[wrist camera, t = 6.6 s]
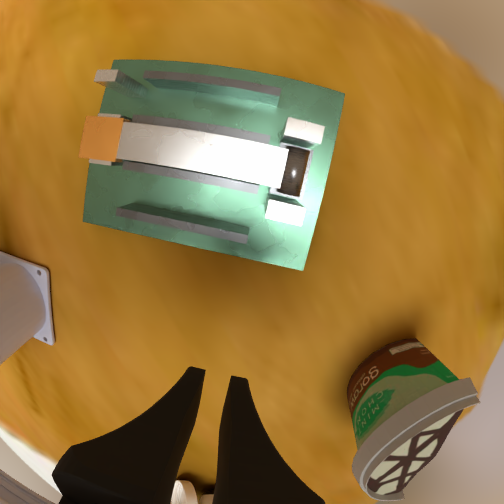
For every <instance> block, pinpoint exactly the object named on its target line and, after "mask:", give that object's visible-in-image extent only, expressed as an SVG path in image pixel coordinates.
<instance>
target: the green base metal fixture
mask: <svg viewBox="0 0 504 504" xmlns="http://www.w3.org/2000/svg"><path fill="white" fill-rule="evenodd" d="M94 82H96V83H99V84H101V85H103V86H105V87H106V89H105V93H104V96H103V100H102V104H101V108H100V113H98V116H100V117H115V118H125V119H128V120H130V123H140V124H149V125H158V126H166V127H173V128H180V129H187V130H194V131H200V132H206V133H212V134H218V135H223V136H229V137H234V138H239V139H244V140H249V141H254V142H258V143H263V144H268V145H272V146H276V147H281V148H285V149H286V147H287V146H295V147H299V148H303V149H306V150H309V151H310V154H309V159H308V163H307V167H306V172H305V176H304V180H303V184H302V189H301V193H300V197H295V196H291V195H287V194H283V193H279V192H276V191H277V188H275V187H271V186H266V185H262V184H257V183H253V182H248V181H243V180H239V179H234V178H229V177H224V176H219V175H214V174H209V173H203V172H198V171H193V170H187V169H181V168H176V167H170V166H164V165H158V164H151V163H145V162H138V161H131V160H124V159H122V162H111V161H104V160H96V159H89V163H90V165H89V171H88V178H87V186H86V194H85V203H84V214H83V222H87V223H91V224H96V225H100V226H104V227H109V228H113V229H118V230H122V231H126V232H131V233H135V234H139V235H144V236H148V237H153V238H157V239H162V240H166V241H170V242H175V243H179V244H184V245H188V246H193V247H197V248H202V249H206V250H211V251H215V252H220V253H224V254H229V255H233V256H238V257H242V258H247V259H251V260H256V261H260V262H265V263H270V264H274V265H279V266H283V267H288V268H293V269H297V270H302V271H303V269H304V265H305V262H306V258H307V254H308V251H309V247H310V243H311V240H312V236H313V232H314V228H315V224H316V220H317V217H318V213H319V209H320V205H321V201H322V197H323V192H324V188H325V184H326V180H327V176H328V171H329V167H330V163H331V158H332V154H333V149H334V145H335V140H336V136H337V131H338V126H339V121H340V117H341V112H342V107H343V102H344V96H345V94H344V93H341V92H338V91H335V90H331V89H328V88H324V87H321V86H317V85H314V84H310V83H306V82H302V81H298V80H294V79H290V78H285V77H281V76H276V75H271V74H266V73H261V72H256V71H250V70H244V69H238V68H232V67H225V66H217V65H209V64H200V63H190V62H178V61H161V60H114V61H113V65H112V68H111V70H97V73H96V76H95V80H94Z"/></svg>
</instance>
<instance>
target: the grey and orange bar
mask: <svg viewBox="0 0 504 504" xmlns="http://www.w3.org/2000/svg"><path fill="white" fill-rule="evenodd" d="M309 154H310V151H309V150H306V149H303V148H299V147H295V146H287V147H286V149H285V148H281V147H276V146H272V145H268V144H263V143H258V142H254V141H249V140H244V139H239V138H234V137H229V136H223V135H218V134H212V133H206V132H200V131H194V130H187V129H180V128H173V127H166V126H158V125H149V124H140V123H130V120H128V119H125V118H115V117H100V116H86V120H85V125H84V130H83V135H82V140H81V146H80V151H79V157H80V158H88V159H96V160H104V161H111V162H122V159H124V160H131V161H138V162H145V163H151V164H158V165H164V166H170V167H176V168H181V169H187V170H193V171H198V172H203V173H209V174H214V175H219V176H224V177H229V178H234V179H239V180H243V181H248V182H253V183H257V184H262V185H266V186H271V187H275V188H277V191H276V192H279V193H283V194H287V195H291V196H295V197H300V193H301V189H302V184H303V180H304V176H305V172H306V167H307V163H308V159H309Z"/></svg>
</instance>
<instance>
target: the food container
mask: <svg viewBox="0 0 504 504" xmlns="http://www.w3.org/2000/svg"><path fill="white" fill-rule="evenodd" d="M477 394H478V393H477V391H476V389H475V387H474V385H473V383H472V381H471V379H470V378H465V379H460V380H459V379H458V378H457V377H456V376H455V375H454V374H453V373H452V372H451V371H450V370H449V369H448V368H447V367H446V366H445V365H444V364H443V363H442V362H440V361H439V360H438V359H437V358H436V357H435V356H434V355H433V354H432V353H431V352H430V351H429V350H428V349H427V348H426V347H425V346H424V345H422V344H421V343H420V342H419V341H418V340H417V339H404V340H401V341H397V342H394V343H391V344H388V345H386V346H385V347H383V348H381V349H379V350H378V351H376V352H374V353H373V354H371V355H370V356H369V357H368V358H367V359H366V360H365V361H364V362H362V363H361V364H360V365H359V367H358V368H357V369H356V371H355V372H354V374H353V375H352V377H351V379H350V381H349V384H348V388H347V397H348V403H349V407H350V412H351V417H352V422H353V428H354V433H355V438H356V444H357V449H358V451H357V453H356V455H355V457H354V459H353V464H352V472H353V474H354V476H355V478H356V480H357V481H358V483H359V485H360V487H361V488H362V490H363V491H364V492H366V493H367V494H368V495H369V496H370V497H371V498H373V499H375V500H380V501H394V500H401V499H404V494H403V488H404V487H406V485H407V484H408V482H409V481H410V480H411V479H412V478H413V477H414V476H415V475H416V473H417V472H419V471H420V470H421V469H422V468H423V467H424V466H426V465H427V464H428V463H429V462H430V461H431V460H432V459H433V458H434V457H435V456H436V454H437V453H438V451H439V450H440V448H441V446H442V444H443V442H444V441H445V439H446V437H447V435H448V434H449V432H450V430H451V428H452V427H453V425H454V423H455V422H456V420H457V419H458V417H459V416H460V414H461V413H462V411H463V409H464V408H467V407H469V406H472V405H476V404H479V403H480V401H479V399H478V398H477V397H476V395H477Z"/></svg>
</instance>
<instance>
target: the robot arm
mask: <svg viewBox="0 0 504 504" xmlns="http://www.w3.org/2000/svg"><path fill="white" fill-rule="evenodd" d="M40 272H41V273H40ZM32 337H34V338H36V339H38V340H40V341H43V342H45V343H47V344H49V345H53V344H54V343H55V339H54V331H53V322H52V312H51V299H50V281H49V271H48V270H47V268H45V267H42V266H39V265H36V264H34V263H31V262H28V261H25V260H23V259H20V258H17V257H14V256H12V255H9V254H7V253H4V252H1V251H0V365H1V364H2V363H3V362H4V361H5V360H6V359H7V358H9V357H10V356H11V355H12V354H13V353H14V352H15V351H17V350H18V349H19V348H20V347H21V346H22V345H23V344H25V343H26V342H27V341H28V340H29V339H30V338H32ZM205 371H206V370H204V369H200V368H196V367H189V368H188V369H187V370H186V372H185V373H184V374H183V376H182V377H181V378H180V379H179V381H178V382H177V383H176V384H175V385H174V386H173V387H172V388H171V389H170V390H169V391H168V392H167V393H166V394H165V395H164V396H163V397H162V398H161V399H160V400H159V401H157V402H156V403H155V404H154V405H153V406H152V407H150V408H149V409H148V410H147V411H145V412H144V413H142V414H141V415H140V416H138V417H137V418H135V419H134V420H132V421H130V422H129V423H127V424H125V425H123V426H122V427H120V428H118V429H116V430H114V431H112V432H109V433H107V434H105V435H103V436H100V437H98V438H95V439H92V440H89V441H86V442H83V443H80V444H76V445H73V446H71V447H70V448H69V449H68V450H67V451H66V453H65V454H64V455H63V456H62V457H61V459H60V460H59V462H58V464H57V465H56V467H55V469H54V471H53V473H52V477H53V479H54V482H55V483H56V485H57V487H58V488H59V490H60V492H61V493H62V495H63V496H62V498H61V500H60V502H59V504H170V502H171V498H172V493H173V489H174V485H175V481H176V477H177V472H178V469H179V466H180V463H181V460H182V457H183V455H184V452H185V449H186V447H187V444H188V441H189V438H190V436H191V433H192V430H193V427H194V425H195V421H196V417H197V413H198V409H199V404H200V399H201V393H202V387H203V382H204V376H205ZM0 504H55V503H53V502H51V501H49V500H47V499H46V498H44V497H42V496H40V495H39V494H37V493H35V492H34V491H32V490H30V489H28V488H27V487H25V486H24V485H22V484H21V483H19V482H18V481H16V480H15V479H13V478H12V477H10V476H9V475H7V474H6V473H5V472H3V471H2V470H1V469H0ZM212 504H325V502H324V500H323V499H322V498H321V497H319V496H318V495H317V494H316V493H315V492H313V491H312V490H311V489H310V488H309V487H308V486H307V485H306V484H305V483H304V482H303V481H302V480H301V479H300V478H299V477H298V476H297V475H296V474H295V473H294V472H293V470H292V469H291V468H290V467H289V466H288V465H287V463H286V462H285V461H284V460H283V458H282V457H281V455H280V454H279V453H278V451H277V450H276V448H275V446H274V445H273V443H272V442H271V440H270V438H269V436H268V434H267V433H266V431H265V429H264V427H263V425H262V422H261V420H260V418H259V415H258V413H257V410H256V408H255V405H254V402H253V399H252V396H251V392H250V388H249V383H248V380H247V379H246V378H241V377H236V376H231V379H230V383H229V387H228V391H227V395H226V399H225V403H224V407H223V412H222V418H221V423H220V429H219V445H218V464H217V477H216V484H215V490H214V496H213V502H212Z"/></svg>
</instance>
